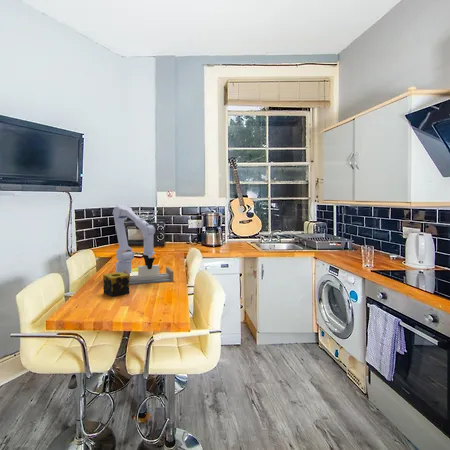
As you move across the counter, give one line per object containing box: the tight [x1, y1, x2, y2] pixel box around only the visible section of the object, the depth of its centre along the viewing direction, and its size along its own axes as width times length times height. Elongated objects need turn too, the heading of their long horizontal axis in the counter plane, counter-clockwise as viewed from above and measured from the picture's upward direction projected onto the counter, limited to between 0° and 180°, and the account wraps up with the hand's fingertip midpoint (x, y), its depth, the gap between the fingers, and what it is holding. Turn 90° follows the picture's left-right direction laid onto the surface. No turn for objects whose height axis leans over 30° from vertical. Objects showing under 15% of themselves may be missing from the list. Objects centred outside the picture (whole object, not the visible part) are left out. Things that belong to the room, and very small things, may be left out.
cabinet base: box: [124, 266, 174, 286], centre depth 203 cm, size 27×14×6 cm, turn 112°
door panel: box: [137, 264, 160, 277], centre depth 203 cm, size 12×2×8 cm, turn 112°
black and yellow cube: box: [102, 271, 130, 298], centre depth 176 cm, size 10×10×10 cm
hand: (148, 267), depth 203 cm, fingers open, 7 cm apart
